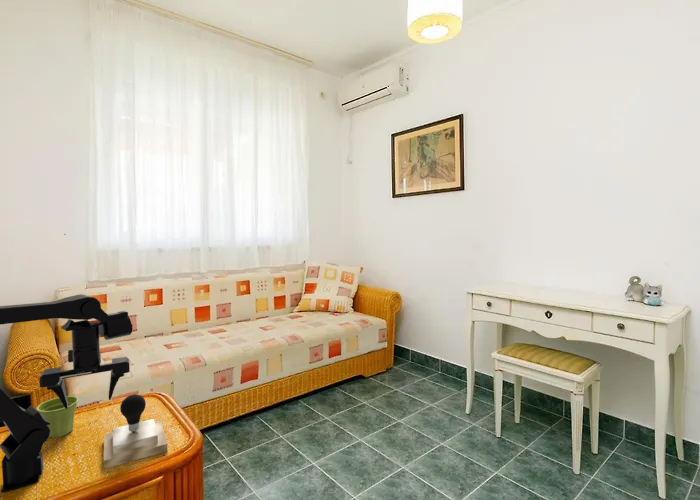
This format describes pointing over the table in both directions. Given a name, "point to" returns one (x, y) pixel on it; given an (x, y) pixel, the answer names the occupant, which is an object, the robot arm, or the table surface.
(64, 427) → the plant pot
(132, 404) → the light bulb
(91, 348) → the robot arm
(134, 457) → the stepped stand
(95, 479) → the table surface
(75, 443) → the table surface
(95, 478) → the table surface
